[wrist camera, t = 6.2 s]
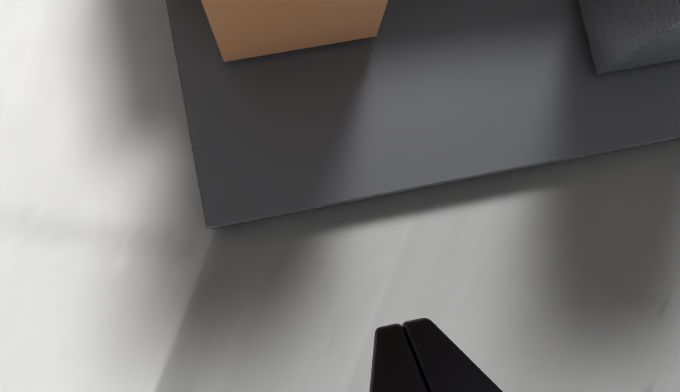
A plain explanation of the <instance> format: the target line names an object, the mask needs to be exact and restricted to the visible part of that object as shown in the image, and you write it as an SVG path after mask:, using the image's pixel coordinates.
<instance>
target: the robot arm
mask: <svg viewBox="0 0 680 392" xmlns="http://www.w3.org/2000/svg"><path fill="white" fill-rule="evenodd" d="M369 392H503V391H502V390H501V389H500V388H498V387H497V386H496V385H495V384H494V383H493V382H492V381H491V380H490V379H489V378H488V377H487V376H486V375H485V374H484V373H483V372H482V371H481V370H480V369H479V368H478V367H477V366H476V365H475V364H474V363H473V362H472V361H471V360H470V359H469V358H468V357H467V356H466V355H465V354H464V353H463V352H462V351H461V350H460V349H459V348H458V347H457V346H456V345H455V344H454V343H453V342H452V341H451V340H450V339H449V338H448V337H447V336H446V335H445V334H444V333H443V332H442V331H441V330H440V329H439V328H438V327H437V326H436V325H435V324H434V323H433V322H432V321H431V320H429V319H428V318H420V319H416V320H411V321H406V322H404V323H403V325H402V326H401V325H400V324H392V325H388V326H383V327H379V328H377V329H376V331H375V338H374V349H373V359H372V370H371V380H370V391H369Z"/></svg>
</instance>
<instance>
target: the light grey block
mask: <svg viewBox="0 0 680 392" xmlns="http://www.w3.org/2000/svg"><path fill="white" fill-rule="evenodd" d="M578 1H579V5H580V9H581V13H582V17H583V21H584V25H585V29H586V33H587V37H588V41H589V45H590V49H591V53H592V57H593V61H594V65H595V69H596V73H597V74H603V73H608V72H614V71H619V70H625V69H630V68H636V67H641V66H647V65H652V64H658V63H663V62H669V61H674V60H680V0H578Z"/></svg>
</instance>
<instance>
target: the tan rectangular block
mask: <svg viewBox="0 0 680 392" xmlns="http://www.w3.org/2000/svg"><path fill="white" fill-rule="evenodd" d="M201 2H202V4H203V7H204V10H205V12H206V15H207V18H208V20H209V23H210V26H211V28H212V31H213V34H214V36H215V39H216V42H217V44H218V47H219V50H220V52H221V55H222V58H223V60H224V62H228V61H234V60H240V59H245V58H251V57H257V56H263V55H269V54H275V53H281V52H287V51H292V50H298V49H304V48H310V47H316V46H322V45H328V44H334V43H339V42H345V41H351V40H357V39H363V38H369V37H375V36H377V33H378V30H379V27H380V24H381V21H382V18H383V14H384V11H385V8H386V5H387V2H388V0H201Z"/></svg>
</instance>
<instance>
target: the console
mask: <svg viewBox="0 0 680 392" xmlns="http://www.w3.org/2000/svg"><path fill="white" fill-rule="evenodd" d="M166 3H167V8H168V14H169V19H170V25H171V31H172V36H173V42H174V48H175V53H176V59H177V64H178V70H179V76H180V81H181V87H182V92H183V98H184V104H185V109H186V115H187V120H188V126H189V132H190V137H191V143H192V149H193V154H194V160H195V165H196V171H197V177H198V182H199V188H200V193H201V199H202V205H203V210H204V216H205V222H206V227H207V228H210V229H214V228H219V227H224V226H230V225H235V224H240V223H245V222H250V221H255V220H261V219H266V218H271V217H276V216H281V215H286V214H292V213H297V212H302V211H307V210H312V209H317V208H322V207H328V206H333V205H338V204H343V203H348V202H353V201H359V200H364V199H369V198H374V197H379V196H384V195H390V194H395V193H400V192H405V191H410V190H415V189H421V188H426V187H431V186H436V185H441V184H446V183H452V182H457V181H462V180H467V179H472V178H477V177H483V176H488V175H493V174H498V173H503V172H508V171H514V170H519V169H524V168H529V167H534V166H539V165H544V164H550V163H555V162H560V161H565V160H570V159H575V158H581V157H586V156H591V155H596V154H601V153H606V152H612V151H617V150H622V149H627V148H632V147H637V146H643V145H648V144H653V143H658V142H663V141H668V140H674V139H679V138H680V60H674V61H669V62H663V63H658V64H652V65H647V66H641V67H636V68H630V69H625V70H619V71H614V72H608V73H603V74H597V73H596V69H595V65H594V61H593V57H592V53H591V49H590V45H589V41H588V37H587V33H586V29H585V25H584V21H583V17H582V13H581V9H580V5H579V1H578V0H388V2H387V5H386V8H385V11H384V14H383V18H382V21H381V24H380V27H379V30H378V33H377V36H375V37H369V38H363V39H357V40H351V41H345V42H339V43H334V44H328V45H322V46H316V47H310V48H304V49H298V50H292V51H287V52H281V53H275V54H269V55H263V56H257V57H251V58H245V59H240V60H234V61H228V62H224V60H223V58H222V55H221V52H220V50H219V47H218V44H217V42H216V39H215V36H214V34H213V31H212V28H211V26H210V23H209V20H208V18H207V15H206V12H205V10H204V7H203V4H202V2H201V0H166Z"/></svg>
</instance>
